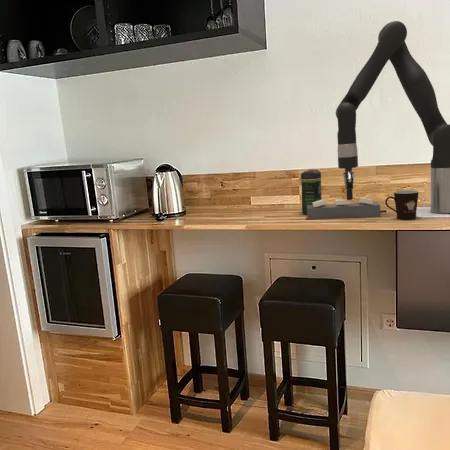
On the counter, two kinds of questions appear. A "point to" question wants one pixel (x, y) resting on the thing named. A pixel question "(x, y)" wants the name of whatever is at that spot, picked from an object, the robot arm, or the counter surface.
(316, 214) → the power strip
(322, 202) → the far rocker
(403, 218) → the coffee mug
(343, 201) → the middle rocker
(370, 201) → the near rocker
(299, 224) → the counter surface
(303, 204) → the coffee jar
